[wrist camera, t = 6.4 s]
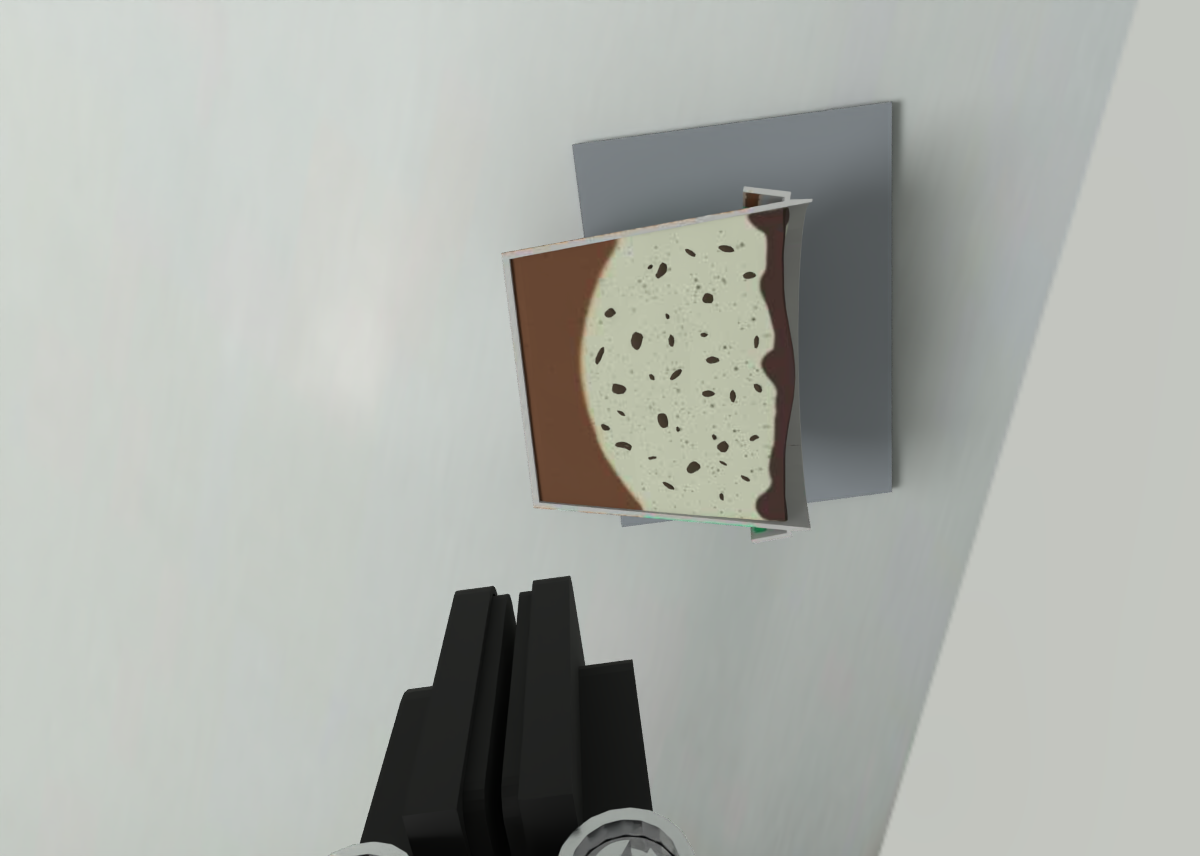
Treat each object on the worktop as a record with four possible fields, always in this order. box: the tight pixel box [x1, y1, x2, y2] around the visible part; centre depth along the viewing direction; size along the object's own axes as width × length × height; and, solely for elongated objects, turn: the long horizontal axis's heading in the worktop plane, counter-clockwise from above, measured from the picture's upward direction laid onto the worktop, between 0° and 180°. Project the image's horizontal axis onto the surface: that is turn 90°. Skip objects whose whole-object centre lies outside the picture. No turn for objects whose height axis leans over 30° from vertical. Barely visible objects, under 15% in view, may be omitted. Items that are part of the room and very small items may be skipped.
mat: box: [572, 102, 892, 527], centre depth 31 cm, size 16×12×1 cm
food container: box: [502, 186, 812, 544], centre depth 29 cm, size 12×6×10 cm
